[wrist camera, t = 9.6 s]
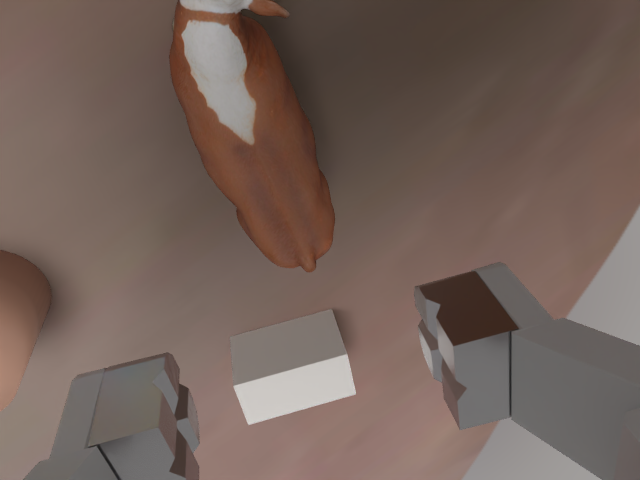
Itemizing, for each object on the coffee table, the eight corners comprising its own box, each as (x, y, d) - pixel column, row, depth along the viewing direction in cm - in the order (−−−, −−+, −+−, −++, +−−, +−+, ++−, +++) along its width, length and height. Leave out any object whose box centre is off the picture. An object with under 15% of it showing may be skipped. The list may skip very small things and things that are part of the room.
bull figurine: (241, -109, 21) (261, -123, 14) (321, 197, 28) (362, 288, 21) (129, -77, 21) (93, -77, 14) (239, 222, 28) (252, 322, 21)
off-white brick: (331, 307, 32) (347, 354, 28) (340, 346, 33) (356, 394, 30) (229, 335, 31) (233, 386, 28) (243, 372, 33) (248, 424, 29)
